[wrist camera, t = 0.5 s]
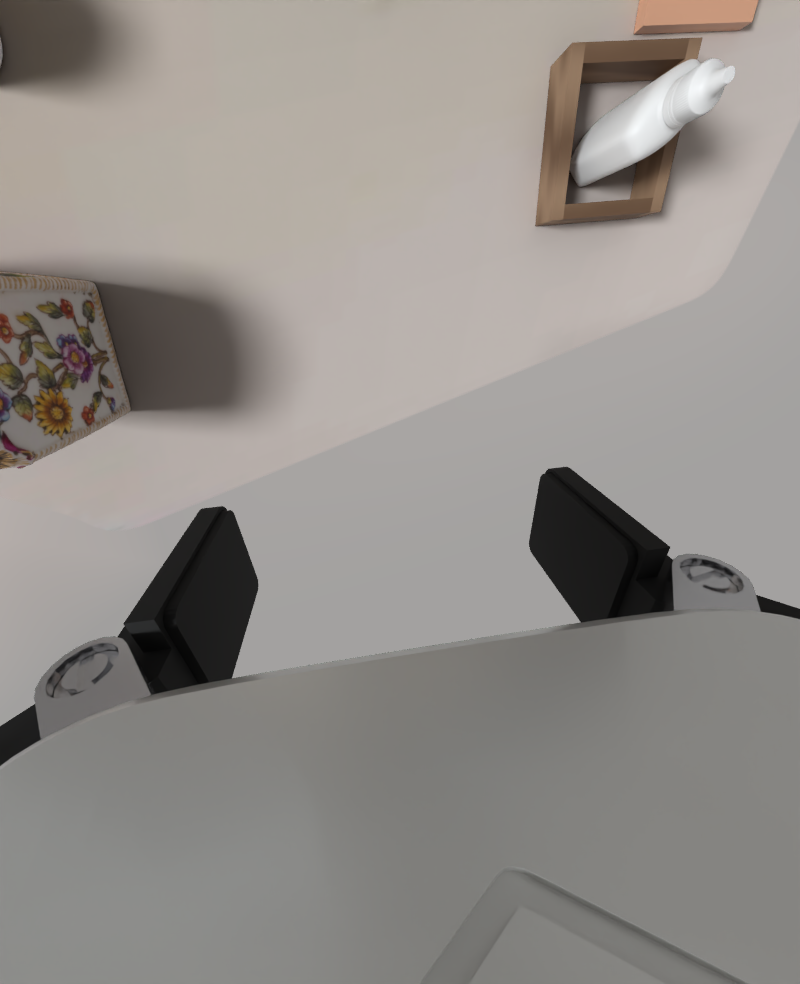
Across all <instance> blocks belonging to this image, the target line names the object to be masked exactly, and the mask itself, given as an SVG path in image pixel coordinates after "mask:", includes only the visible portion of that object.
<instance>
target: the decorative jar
mask: <svg viewBox="0 0 800 984" xmlns="http://www.w3.org/2000/svg"><path fill="white" fill-rule="evenodd" d="M130 410H131V407H130V403H129V399H128V396H127V392H126V389H125V386H124V382H123V379H122V375H121V371H120V367H119V364H118V361H117V357H116V353H115V349H114V346H113V342H112V339H111V335H110V332H109V328H108V325H107V322H106V318H105V315H104V311H103V308H102V304H101V300H100V296H99V293H98V290H97V287H96V285H95V284H94V283H93V282H90V281H86V280H79V279H70V278H61V277H53V276H44V275H33V274H22V273H12V272H2V271H0V469H3V468H11V467H15V468H23V467H25V466H28V465H31V464H33V463H34V462H35V461H37V460H39V459H42V458H43V457H45V456H47V455H49V454H52V453H53V452H56V451H58V450H60V449H62V448H64V447H66V446H67V445H71V444H72V443H74V442H75V441H77V440H80V439H82V438H84V437H86V436H88V435H90V434H91V433H93V432H95V431H97V430H99V429H101V428H102V427H104V426H106V425H108V424H109V423H111V422H113V421H115V420H116V419H118V418H120V417H121V416H123V415H125V414H126V413H129V412H130Z"/></svg>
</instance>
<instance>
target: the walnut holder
mask: <svg viewBox="0 0 800 984" xmlns="http://www.w3.org/2000/svg"><path fill="white" fill-rule="evenodd" d="M701 41H702V38H681V39H656V40H630V41H605V42H579V43H572V44H571V45H570V46H569V47H568V48H567V49H566V50H565V51H564V53H563V54H562V55H561V56H560V57H559V58H558V59H557V60H556V61H555V63H554V64H553V65H552V66H551V70H550V80H549V91H548V101H547V111H546V122H545V132H544V142H543V153H542V163H541V173H540V184H539V194H538V205H537V215H536V225H535V226H543V225H556V224H568V223H580V222H593V221H605V220H617V219H630V218H638V217H642V216H646V215H649V214H653V213H657V212H661V208H662V204H663V200H664V195H665V191H666V187H667V183H668V179H669V175H670V170H671V166H672V162H673V158H674V154H675V150H676V145H677V141H678V137H679V133H680V131H679V132H678V133H677V134H676V135H675V136H674V137H673V138H672V139H671V140H670V141H669V142H667V143H666V144H665V145H664V146H663V147H661V148H660V149H659V150H657V151H656V152H654V153H653V154H651V155H649V156H648V157H646V158H644V159H642V160H640V161H638V162H637V167H636V172H635V177H634V182H633V187H632V192H631V197H630V200H617V201H604V202H591V203H578V204H565V200H566V192H567V185H568V177H569V169H570V161H571V153H572V146H573V138H574V130H575V122H576V114H577V107H578V99H579V91H580V84H584V83H605V82H625V81H646V80H654V81H655V80H656V79H657V78H659V77H660V76H662V75H663V74H665V73H666V72H668V71H669V70H671V69H672V68H674V67H676V66H677V65H679V64H681V63H683V62H685V61H687V60H690V59H697V58H698V54H699V50H700V46H701Z"/></svg>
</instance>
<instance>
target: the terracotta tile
mask: <svg viewBox="0 0 800 984" xmlns="http://www.w3.org/2000/svg"><path fill="white" fill-rule="evenodd" d="M757 3H758V0H639V6H638V12H637V18H636V23H635V29H634V34H656V33H682V32H709V31H735V30H741V29H742V28H744V27H745V26H747V25H748V24H750V23H751V22H752V21H753V18H754V14H755V10H756V7H757Z"/></svg>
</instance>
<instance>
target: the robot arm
mask: <svg viewBox="0 0 800 984" xmlns="http://www.w3.org/2000/svg"><path fill="white" fill-rule="evenodd" d="M529 547H530V550H531V552H532V554H533V555H534V557H535V558H536V560H537V561H538V563H539V564H540V565H541V567H542V568H543V569H544V571H545V572H546V574H547V575H548V577H549V578H550V579H551V581H552V582H553V584H554V585H555V586H556V588H557V589H558V591H559V592H560V593H561V595H562V596H563V598H564V599H565V600H566V602H567V603H568V605H569V606H570V607H571V609H572V610H573V611H574V613H575V614H576V616H577V617H578V619H579V620H580V621H581V623H576V624H569V625H562V626H555V627H549V628H542V629H536V630H530V631H522V632H516V633H509V634H503V635H496V636H490V637H483V638H477V639H470V640H464V641H458V642H451V643H445V644H439V645H432V646H426V647H420V648H413V649H407V650H401V651H394V652H388V653H382V654H375V655H369V656H364V657H357V658H351V659H345V660H339V661H332V662H326V663H321V664H314V665H308V666H302V667H296V668H290V669H284V670H278V671H272V672H265V673H260V674H254V675H249V676H244V677H238V678H232V676H233V672H234V669H235V665H236V662H237V659H238V655H239V652H240V649H241V645H242V642H243V638H244V635H245V632H246V628H247V625H248V622H249V618H250V615H251V611H252V608H253V604H254V601H255V598H256V595H257V591H258V579H257V576H256V573H255V570H254V568H253V565H252V562H251V560H250V557H249V554H248V551H247V548H246V545H245V543H244V540H243V537H242V534H241V532H240V529H239V526H238V524H237V521H236V518H235V515H234V513H233V512H232V511H231V510H229V511H227V509H226V508H225V507H223V506H222V507H213V508H204V509H201V510H200V511H199V512H198V514H197V516H196V517H195V518H194V520H193V521H192V523H191V524H190V526H189V527H188V529H187V530H186V532H185V533H184V535H183V536H182V538H181V539H180V541H179V542H178V543H177V545H176V546H175V548H174V549H173V551H172V553H171V554H170V556H169V557H168V559H167V560H166V561H165V563H164V564H163V566H162V568H161V569H160V570H159V572H158V573H157V575H156V576H155V578H154V579H153V581H152V582H151V584H150V585H149V587H148V588H147V590H146V591H145V593H144V594H143V596H142V597H141V599H140V600H139V602H138V603H137V605H136V606H135V608H134V609H133V611H132V612H131V614H130V615H129V617H128V618H127V619H126V621H125V622H124V625H125V627H124V628H123V630H122V631H121V633H120V634H119V636H118V637H114V636H113V637H102V638H99V639H96V640H92V641H90V642H87V643H85V644H83V645H81V646H79V647H77V648H75V649H74V650H72V651H70V652H69V653H67V654H66V655H64V656H63V657H62V658H61V659H59V660H58V661H57V662H56V663H54V664H53V665H52V666H51V667H50V668H49V669H48V670H47V672H46V673H45V674H44V675H43V676H42V677H41V679H40V681H39V683H38V685H37V686H36V688H35V695H34V700H35V704H34V705H33V706H31V707H30V708H28V709H27V710H25V711H23V712H22V713H20V714H19V715H17V716H16V717H14V718H12V719H11V720H9V721H8V722H6V723H5V724H3V725H2V726H0V984H800V609H798V608H795V607H792V606H789V605H786V604H783V603H780V602H776V601H773V600H770V599H767V598H764V597H761V596H758V595H756V594H755V591H754V587H753V585H752V583H751V582H750V580H749V579H748V578H747V577H746V576H745V575H744V574H743V573H742V572H741V571H739V570H737V569H736V568H734V567H733V566H731V565H729V564H727V563H725V562H723V561H721V560H718V559H715V558H711V557H708V556H704V555H698V554H684V555H679V556H677V557H676V558H675V559H673V560H672V559H671V558H670V557H669V556H667V553H668V551H669V549H670V547H669V546H668V545H667V544H666V543H664V542H663V541H662V540H661V539H659V538H658V537H657V536H655V535H654V534H653V533H651V532H650V531H649V530H648V529H647V528H645V527H644V526H643V525H641V524H640V523H639V522H638V521H636V520H635V519H634V518H633V517H631V516H630V515H629V514H627V513H626V512H625V511H624V510H622V509H621V508H620V507H619V506H617V505H616V504H615V503H613V502H612V501H611V500H610V499H608V498H607V497H606V496H605V495H603V494H602V493H601V492H599V491H598V490H597V489H596V488H594V487H593V486H592V485H591V484H589V483H588V482H587V481H585V480H584V479H583V478H582V477H580V476H579V475H578V474H577V473H575V472H574V471H573V470H571V469H570V468H568V467H561V468H552V469H548V470H547V471H546V473H545V474H543V475H542V476H541V477H540V482H539V488H538V494H537V499H536V505H535V511H534V517H533V523H532V528H531V534H530V540H529Z"/></svg>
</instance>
